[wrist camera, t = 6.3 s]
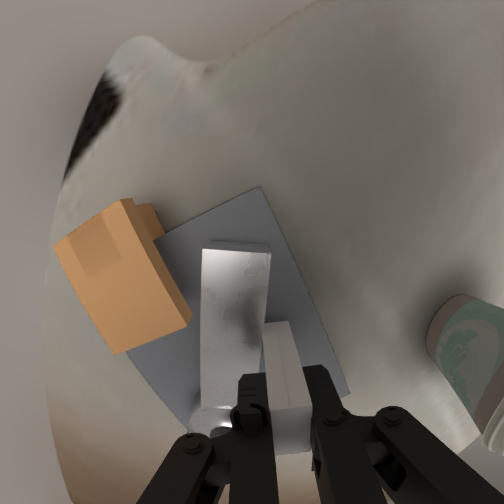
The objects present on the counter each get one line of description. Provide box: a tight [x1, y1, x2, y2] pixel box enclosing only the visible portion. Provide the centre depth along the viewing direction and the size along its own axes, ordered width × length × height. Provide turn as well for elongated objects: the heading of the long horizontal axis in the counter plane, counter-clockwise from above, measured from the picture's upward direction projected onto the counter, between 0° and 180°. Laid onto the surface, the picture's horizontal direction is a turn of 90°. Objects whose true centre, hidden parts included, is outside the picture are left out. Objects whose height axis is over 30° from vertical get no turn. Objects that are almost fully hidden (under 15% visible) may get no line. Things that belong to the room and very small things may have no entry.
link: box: [187, 240, 271, 438], centre depth 14 cm, size 14×5×3 cm, turn 175°
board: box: [125, 187, 350, 428], centre depth 17 cm, size 12×15×2 cm
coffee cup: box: [426, 295, 504, 457], centre depth 12 cm, size 8×8×12 cm
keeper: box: [53, 198, 193, 355], centre depth 13 cm, size 4×6×6 cm
